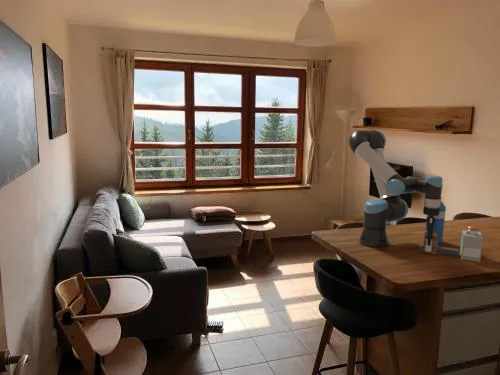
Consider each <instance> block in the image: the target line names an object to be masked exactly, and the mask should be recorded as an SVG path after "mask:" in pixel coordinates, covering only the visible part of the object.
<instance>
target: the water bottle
mask: <svg viewBox="0 0 500 375" xmlns="http://www.w3.org/2000/svg"><path fill="white" fill-rule="evenodd" d="M442 200H443V199H442V196H441V200H440V201H442ZM439 208H440V214H439V215H438V216H434V218H435V223H434V227H433V232H436V233H438V241H437V245H438V244H439V243H440V244H442V243H443V238H444V230H445V220H446V210H447V209H446V208H447V207H446V205H445V204H444V203H443V201H442V203H440V207H439ZM427 217H428V215H426V218H427ZM426 229H427V222H426V221H425V230H424V233H425V232H426V231H427V230H426Z"/></svg>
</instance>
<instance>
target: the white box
mask: <svg viewBox="0 0 500 375" xmlns="http://www.w3.org/2000/svg"><path fill="white" fill-rule="evenodd" d="M460 237H461V238H460V248H459V257H460V258H461V260H464V261H472V262H481V259H482V250H483V242H484V237H483V234H482V232H480V231H477V236H476V235H468V230H465V229H464V230H463V229H462V231H461V236H460Z"/></svg>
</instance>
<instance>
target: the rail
mask: <svg viewBox="0 0 500 375" xmlns="http://www.w3.org/2000/svg"><path fill="white" fill-rule="evenodd" d="M418 246H419V248H418V249H419V250H418V253H423V248H424V243H420V244H419V245H418ZM435 255H441V256H450V257H455V258H460V248H454V247H445V246H438V245H437V250H436V254H435Z"/></svg>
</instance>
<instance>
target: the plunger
mask: <svg viewBox="0 0 500 375" xmlns="http://www.w3.org/2000/svg"><path fill="white" fill-rule="evenodd" d="M478 230H479V227H478V226H476V225H475V226H474V225H469V226H467V231H468V235H476V236H477V232H479V231H478Z"/></svg>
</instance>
